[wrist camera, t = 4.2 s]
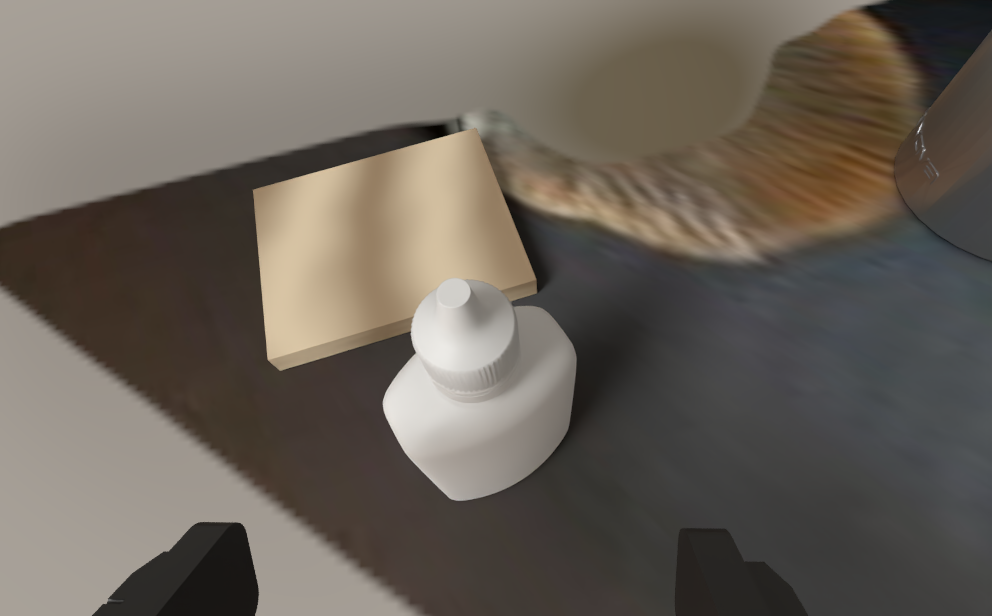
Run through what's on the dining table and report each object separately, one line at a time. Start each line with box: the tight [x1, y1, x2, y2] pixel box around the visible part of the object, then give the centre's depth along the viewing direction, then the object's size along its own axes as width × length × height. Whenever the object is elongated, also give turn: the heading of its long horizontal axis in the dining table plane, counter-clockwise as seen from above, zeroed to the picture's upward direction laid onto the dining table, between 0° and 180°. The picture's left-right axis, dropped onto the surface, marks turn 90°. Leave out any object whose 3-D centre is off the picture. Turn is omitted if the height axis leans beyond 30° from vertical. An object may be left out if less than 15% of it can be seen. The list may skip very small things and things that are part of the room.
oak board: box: [253, 128, 537, 371], centre depth 26 cm, size 12×10×1 cm
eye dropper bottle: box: [383, 278, 577, 501], centre depth 16 cm, size 4×6×12 cm
